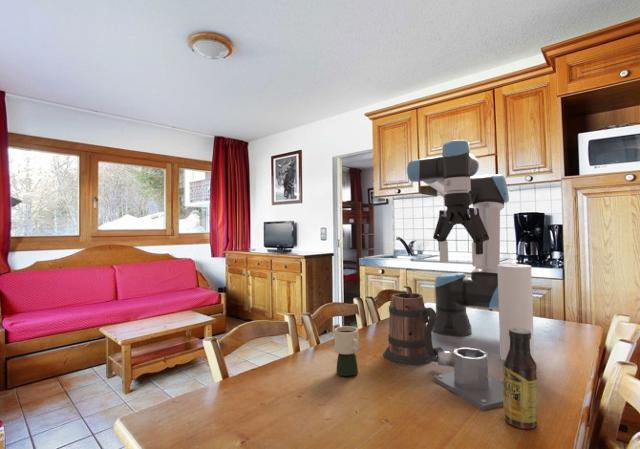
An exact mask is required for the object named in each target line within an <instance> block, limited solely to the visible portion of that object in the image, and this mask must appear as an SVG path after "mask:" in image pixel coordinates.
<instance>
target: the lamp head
mask: <svg viewBox="0 0 640 449" xmlns="http://www.w3.org/2000/svg"><path fill="white" fill-rule="evenodd" d="M437 364H438V366H443V367H449V368H450V367H451V368H453V372H454V380H455V384H456V385H457V386H459V387H461V388H463V389H466V390H472V391H482V390H486V389H488V376H489V369H488V368H489V365H488V352H486V351H484V350H481V349H479V348H473V347H460V348H459V347H458V348H454V350H453V351H450V350H449V351H448V350H443V351H442V350H438V362H437Z"/></svg>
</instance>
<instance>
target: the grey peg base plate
mask: <svg viewBox="0 0 640 449" xmlns="http://www.w3.org/2000/svg"><path fill="white" fill-rule="evenodd" d="M432 381H434V382H436V383H437V384H439V385H440V386H442V387H444V388H446V389H447V390H449V391H450V392H452V393H454V394H456V395H457V396H460V397H461V398H463V399H464V400H466V401H467V402H469V403H471V404H472V405H474V406H475V407H478V408H480V409H481V410H483V411H487V410H491V409H495V408H498V407H499V408H500V407H504V395H503V386H504V385H503V381H500V380H499V379H496V378H494V377H492V376H490V375H488V389H486V390H482V391H472V390H466V389H463V388H461V387H459V386H457V385H456V384H455V380H454V371H450V372H446V373H442V374H436V375H432Z"/></svg>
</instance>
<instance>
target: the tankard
mask: <svg viewBox="0 0 640 449" xmlns="http://www.w3.org/2000/svg"><path fill="white" fill-rule="evenodd" d="M388 313H389V318H388V319H389V324H388V325H389V328H388V329H389V331H388V332H389V333H388V335H387V336H388V337H387V338H388V339H387V341H388V346H387V347H386V349H385V350H384V352H382V357H383V358H384V359H385V360H386V361H388V362H391V363H394V364H397V365H403V366H410V367H411V366H412V367H413V366H425V365H428V364H431V363H433V362H434V363H438V350H442V351H444V349H443V348H442V347H440V346H438V347H434V346H433V337H432V336H433V335H432V334H433V330H432V329H433V326H434V324H435V321H436V310H434V308H432V307H426V306H425V301H424V297H423V295H422V294H420V293H413V292H412V293H405V292H402V293H401V292H400V293H393V294H391V296H390V304H389V305H388Z"/></svg>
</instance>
